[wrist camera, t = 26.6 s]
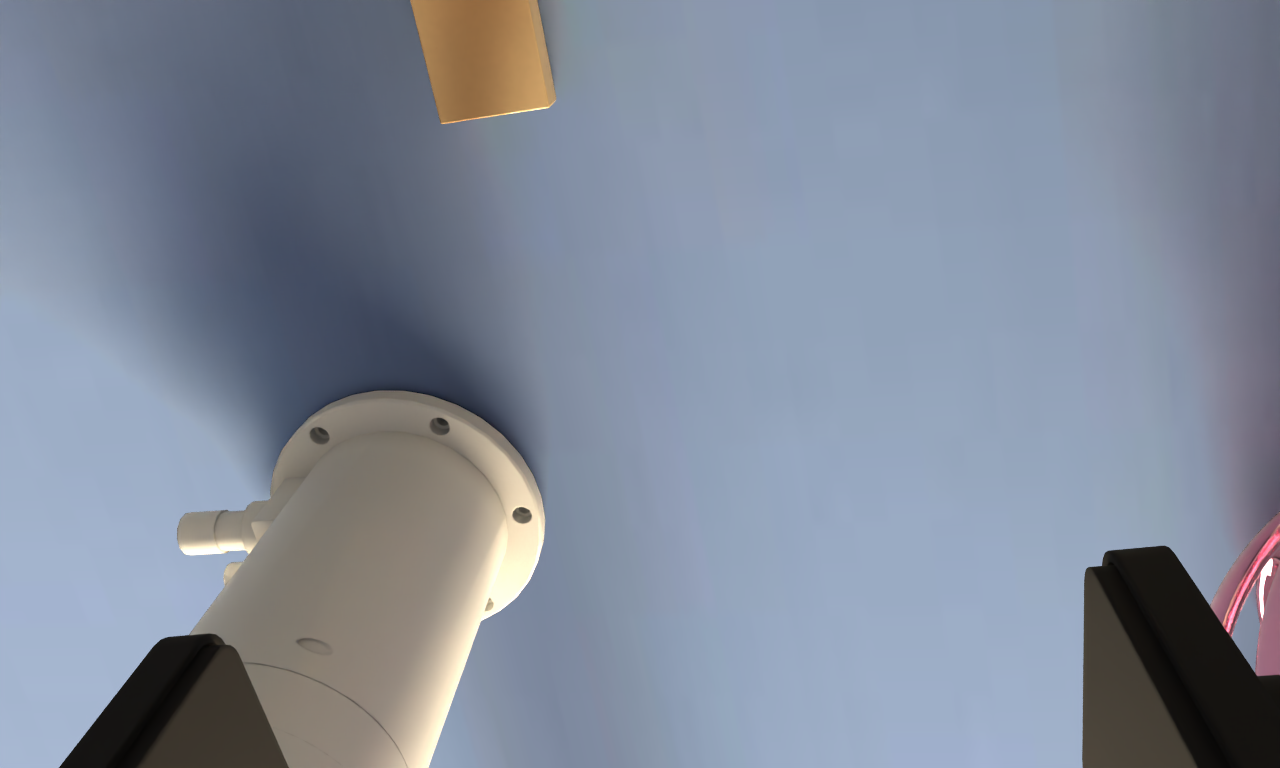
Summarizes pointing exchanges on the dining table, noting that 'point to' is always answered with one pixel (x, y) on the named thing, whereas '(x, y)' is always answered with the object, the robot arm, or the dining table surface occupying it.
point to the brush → (484, 57)
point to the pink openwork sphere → (1276, 567)
